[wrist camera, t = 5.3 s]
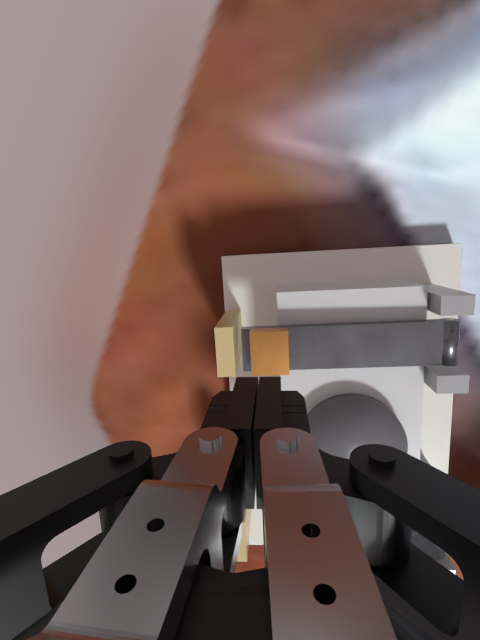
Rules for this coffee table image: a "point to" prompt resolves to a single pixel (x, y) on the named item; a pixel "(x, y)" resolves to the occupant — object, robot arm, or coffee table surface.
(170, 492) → the robot arm
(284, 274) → the base
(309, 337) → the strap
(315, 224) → the coffee table surface
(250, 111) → the coffee table surface
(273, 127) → the coffee table surface
